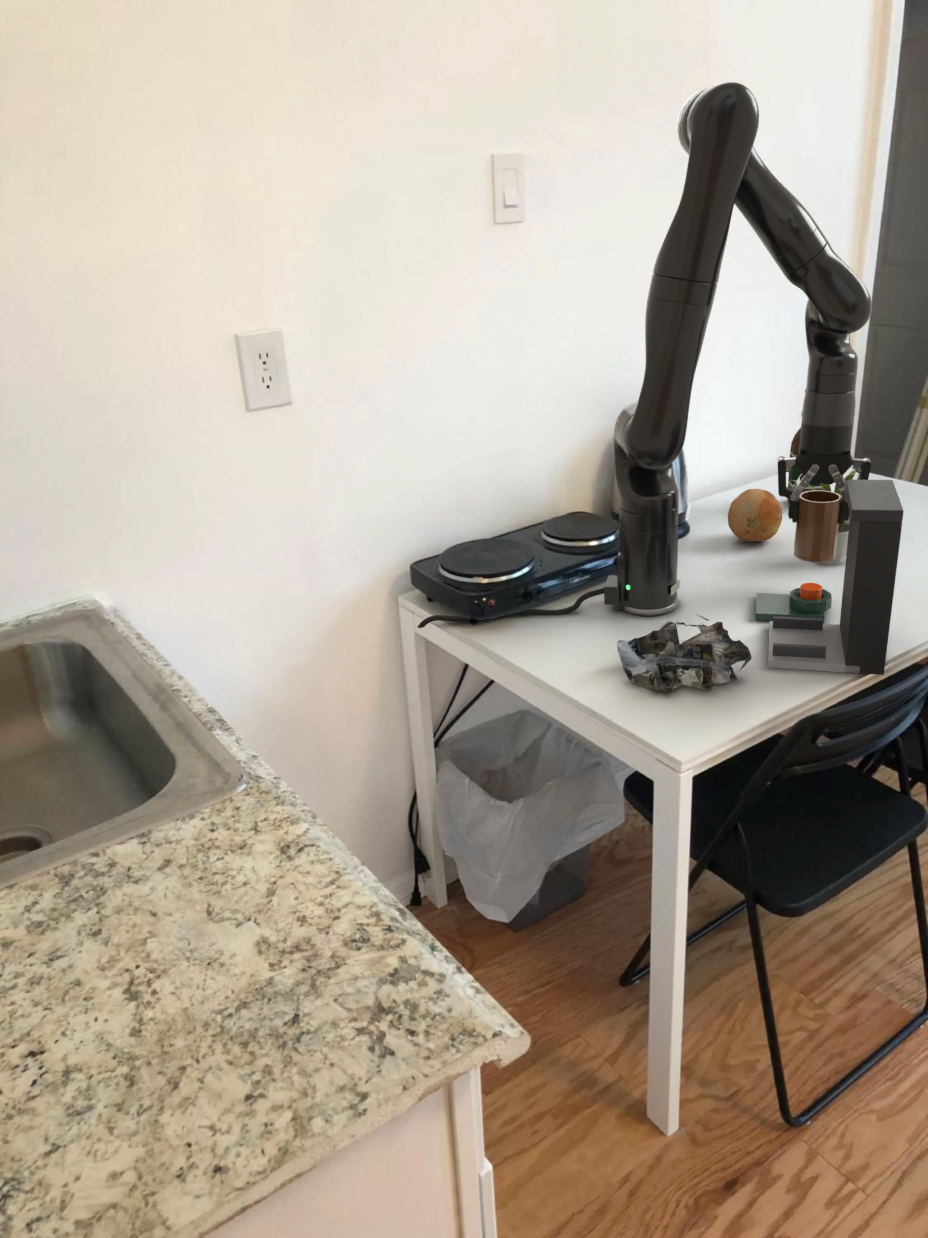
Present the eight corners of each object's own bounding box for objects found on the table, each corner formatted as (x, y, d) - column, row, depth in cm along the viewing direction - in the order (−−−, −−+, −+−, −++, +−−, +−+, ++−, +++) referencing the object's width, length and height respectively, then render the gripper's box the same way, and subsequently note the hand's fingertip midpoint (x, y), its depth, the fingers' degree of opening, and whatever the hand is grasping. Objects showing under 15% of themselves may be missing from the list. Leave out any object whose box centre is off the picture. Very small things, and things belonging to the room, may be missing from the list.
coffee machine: (768, 668, 131) (778, 508, 122) (768, 628, 143) (777, 479, 133) (883, 675, 127) (903, 510, 117) (875, 633, 138) (892, 479, 128)
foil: (664, 624, 139) (732, 598, 126) (689, 692, 138) (760, 673, 125) (603, 644, 134) (668, 619, 121) (629, 715, 133) (697, 698, 120)
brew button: (799, 600, 144) (800, 590, 144) (799, 592, 147) (800, 582, 146) (821, 601, 143) (822, 591, 143) (820, 593, 146) (821, 582, 146)
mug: (836, 563, 149) (843, 503, 144) (794, 561, 150) (799, 502, 146) (833, 543, 156) (839, 485, 152) (793, 541, 158) (798, 484, 154)
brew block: (755, 620, 145) (756, 602, 144) (756, 599, 152) (757, 582, 151) (831, 624, 142) (832, 606, 141) (828, 602, 149) (830, 585, 148)
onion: (728, 550, 172) (730, 498, 168) (724, 532, 181) (726, 482, 177) (783, 550, 170) (787, 497, 166) (777, 531, 179) (780, 481, 175)
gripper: (778, 424, 142) (770, 528, 149) (880, 424, 138) (868, 531, 145) (778, 413, 148) (770, 513, 155) (876, 412, 144) (864, 515, 151)
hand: (817, 521), depth 150 cm, fingers closed on mug, 6 cm apart
